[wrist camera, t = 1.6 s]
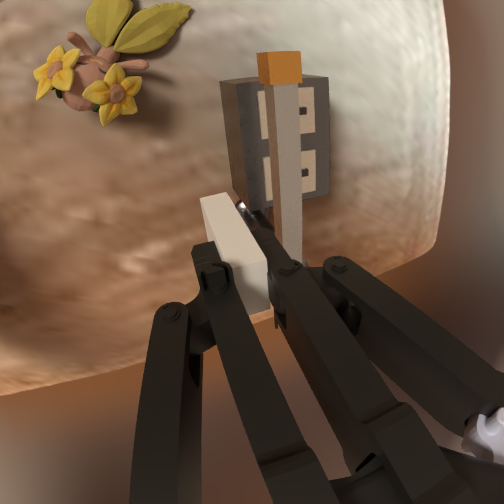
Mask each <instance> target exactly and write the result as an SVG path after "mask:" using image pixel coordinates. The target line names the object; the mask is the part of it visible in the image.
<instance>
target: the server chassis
mask: <svg viewBox="0 0 504 504" xmlns="http://www.w3.org/2000/svg"><path fill="white" fill-rule="evenodd" d="M219 82H220V90H221V98H222V106H223V114H224V122H225V130H226V138H227V145H228V153H229V161H230V169H231V176H232V184H233V189H234V190H235V192H236V193H237V195H238V196H239V198H240V199H241V200H242V202H243V203H244V205H245V206H246V208H247V209H248V211H249V212H251V211H255V210H260V209H264V208H268V207H273V196H272V181H271V167H270V153H269V140H268V127H267V114H266V102H265V91H264V84H260V83H259V77H250V78H241V79H233V80H225V81H219ZM298 96H299V116H300V139H301V172H302V200H304V199H309V198H313V197H318V196H323V195H327V194H329V166H330V119H329V82H328V77H321V76H313V75H304V74H302V83H298Z"/></svg>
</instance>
